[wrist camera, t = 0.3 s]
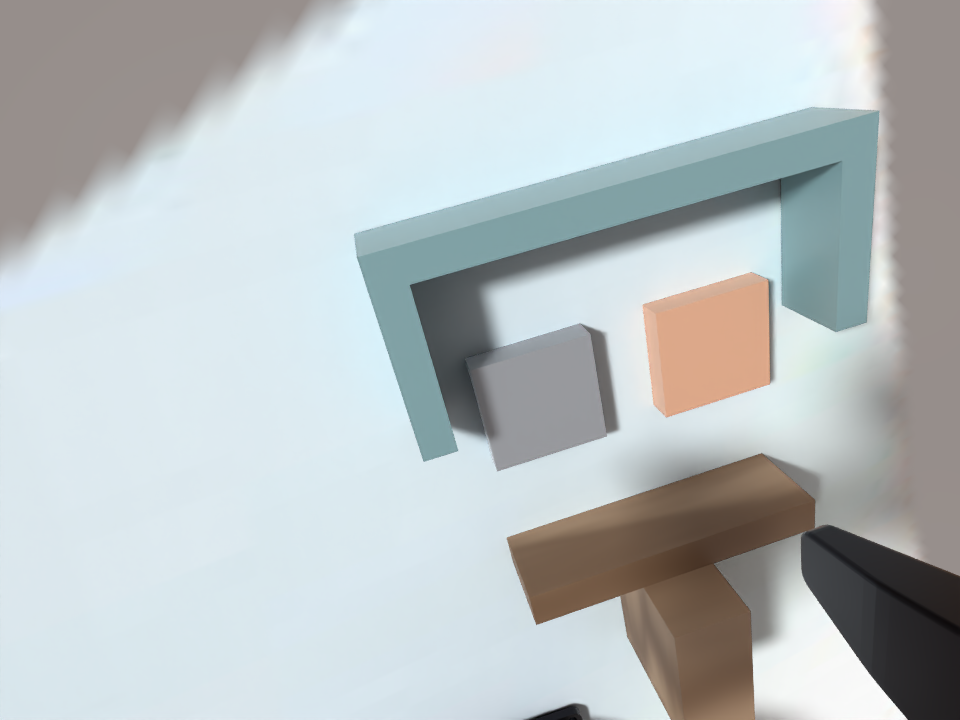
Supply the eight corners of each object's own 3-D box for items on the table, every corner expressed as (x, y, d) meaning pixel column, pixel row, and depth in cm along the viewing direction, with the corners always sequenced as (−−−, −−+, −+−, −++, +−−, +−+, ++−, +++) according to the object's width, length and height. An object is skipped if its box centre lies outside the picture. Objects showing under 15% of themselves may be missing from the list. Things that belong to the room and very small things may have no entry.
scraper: (764, 587, 31) (852, 691, 26) (541, 666, 30) (585, 791, 25) (761, 452, 28) (863, 541, 22) (506, 537, 27) (549, 652, 21)
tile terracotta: (747, 368, 26) (769, 384, 25) (648, 400, 26) (666, 417, 24) (744, 269, 24) (768, 279, 23) (637, 301, 24) (655, 314, 22)
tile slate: (592, 417, 26) (606, 436, 24) (489, 450, 25) (497, 471, 24) (576, 319, 24) (590, 334, 22) (462, 353, 23) (470, 370, 22)
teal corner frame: (808, 296, 25) (866, 322, 22) (413, 418, 23) (423, 461, 21) (812, 107, 22) (879, 110, 19) (354, 233, 20) (356, 257, 17)
